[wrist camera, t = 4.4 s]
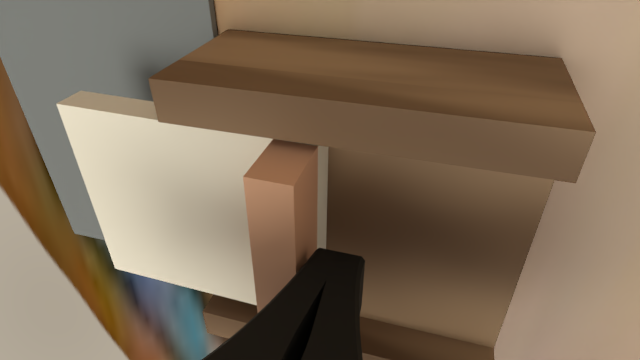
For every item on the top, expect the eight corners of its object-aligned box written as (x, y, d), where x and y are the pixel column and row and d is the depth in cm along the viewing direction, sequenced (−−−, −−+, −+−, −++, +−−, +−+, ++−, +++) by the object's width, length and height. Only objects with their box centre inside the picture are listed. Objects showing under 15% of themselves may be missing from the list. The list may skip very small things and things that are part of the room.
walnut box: (484, 303, 18) (486, 407, 14) (254, 253, 20) (207, 332, 17) (561, 58, 12) (595, 132, 9) (227, 29, 14) (148, 78, 11)
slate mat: (248, 267, 21) (245, 272, 20) (78, 229, 23) (74, 233, 23) (212, -4, 14) (207, -2, 14) (-24, -20, 16) (-31, -18, 16)
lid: (324, 298, 16) (298, 367, 13) (131, 250, 18) (81, 304, 15) (328, 128, 12) (293, 185, 10) (80, 90, 14) (3, 131, 11)
